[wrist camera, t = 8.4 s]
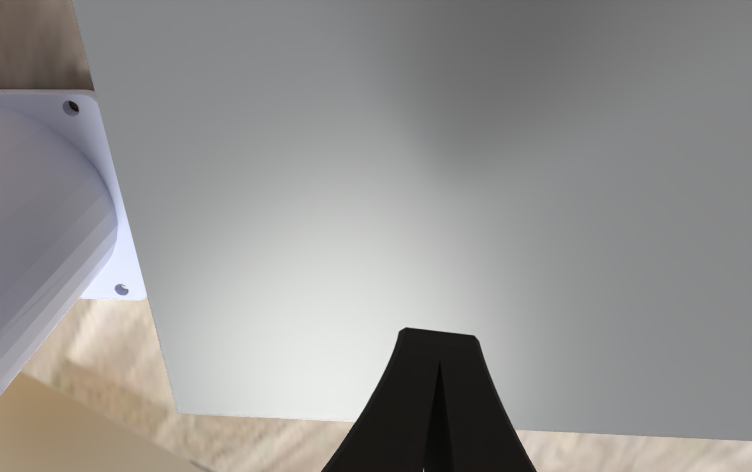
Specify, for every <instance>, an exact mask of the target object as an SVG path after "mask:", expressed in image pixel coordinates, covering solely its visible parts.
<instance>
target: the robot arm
mask: <svg viewBox="0 0 752 472" xmlns="http://www.w3.org/2000/svg"><path fill="white" fill-rule="evenodd" d="M69 101H73V102H74V103H76V104H77V106H78V108H79V112H76V111H74V110H73V109H71V107H70V105H69ZM120 284H123V285H125V286H126V287H127V288H128V289H124V288H123V287H121V286H120ZM146 297H147V293H146V289H145V285H144V281H143V277H142V273H141V270H140V266H139V262H138V258H137V254H136V250H135V246H134V242H133V238H132V235H131V231H130V227H129V223H128V219H127V215H126V211H125V207H124V203H123V200H122V196H121V192H120V188H119V184H118V180H117V176H116V172H115V168H114V164H113V161H112V157H111V153H110V149H109V145H108V141H107V137H106V133H105V129H104V126H103V122H102V118H101V114H100V110H99V106H98V102H97V98H96V94H95V91H92V90H52V89H0V395H1V394H2V393H3V392H4V390H5V389H6V388H7V387H8V386H9V384H10V383H11V382H12V380H13V379H14V378H15V377H16V376H17V374H18V373H19V372H20V371H21V369H22V368H23V367H24V366H25V365H26V363H27V362H28V361H29V360H30V358H31V357H32V356H33V355H34V353H35V352H36V351H37V350H38V348H39V347H40V346H41V345H42V344H43V342H44V341H45V340H46V339H47V337H48V336H49V335H50V334H51V332H52V331H53V330H54V329H55V327H56V326H57V325H58V324H59V323H60V321H61V320H62V319H63V318H64V316H65V315H66V314H67V313H68V311H69V310H70V309H71V308H72V306H73V305H74V304H75V303H76V302H77V300H78V299H79V298H83V299H114V300H143V299H145V298H146ZM423 469H424V472H537V471H536V469H535V468H534V466H533V464H532V462H531V460H530V459H529V457H528V455H527V453H526V451H525V449H524V447H523V446H522V444H521V442H520V440H519V438H518V436H517V434H516V432H515V430H514V428H513V425H512V423H511V421H510V419H509V417H508V415H507V413H506V411H505V409H504V407H503V404H502V402H501V400H500V397H499V395H498V393H497V390H496V388H495V385H494V383H493V381H492V378H491V375H490V373H489V370H488V367H487V365H486V362H485V359H484V356H483V352H482V349H481V345H480V341H479V340H478V339H477V338H476V337H475V335H468V334H459V333H451V332H442V331H434V330H426V329H417V328H409V327H405V328H404V329H402V330H400V331H399V333H398V337H397V341H396V344H395V347H394V350H393V353H392V355H391V358H390V360H389V362H388V364H387V366H386V369H385V371H384V373H383V375H382V377H381V379H380V381H379V383H378V384H377V386H376V388H375V390H374V392H373V393H372V395H371V397H370V399H369V401H368V402H367V404H366V406H365V408H364V409H363V411H362V413H361V414H360V416H359V417H358V419H357V421H356V422H355V424H354V425H353V427H352V428H351V430H350V431H349V433H348V434H347V436H346V437H345V439H344V440H343V442H342V443H341V445H340V446H339V448H338V449H337V451H336V452H335V453H334V455H333V456H332V458H331V459H330V460H329V462H328V463H327V464H326V466H325V467H324V468H323V470H322V471H321V472H423Z"/></svg>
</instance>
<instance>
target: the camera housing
mask: <svg viewBox="0 0 752 472" xmlns="http://www.w3.org/2000/svg"><path fill="white" fill-rule="evenodd" d="M71 1H72V5H73V9H74V13H75V17H76V20H77V24H78V28H79V32H80V36H81V40H82V44H83V48H84V52H85V55H86V59H87V63H88V67H89V71H90V75H91V79H92V83H93V87H94V90H95V94H96V98H97V102H98V106H99V110H100V114H101V118H102V122H103V126H104V129H105V133H106V137H107V141H108V145H109V149H110V153H111V157H112V161H113V164H114V168H115V172H116V176H117V180H118V184H119V188H120V192H121V196H122V200H123V203H124V207H125V211H126V215H127V219H128V223H129V227H130V231H131V235H132V238H133V242H134V246H135V250H136V254H137V258H138V262H139V266H140V270H141V273H142V277H143V281H144V285H145V289H146V293H147V297H148V301H149V305H150V309H151V312H152V316H153V320H154V324H155V328H156V332H157V336H158V340H159V344H160V347H161V351H162V355H163V359H164V363H165V367H166V371H167V375H168V379H169V382H170V386H171V390H172V394H173V398H174V402H175V406H176V410H177V413H181V414H201V415H222V416H243V417H263V418H284V419H305V420H326V421H346V422H356V421H357V419H358V417H359V416H360V414H361V413H362V411H363V409H364V408H365V406H366V404H367V402H368V401H369V399H370V397H371V395H372V393H373V392H374V390H375V388H376V386H377V384H378V383H379V381H380V379H381V377H382V375H383V373H384V371H385V369H386V366H387V364H388V362H389V360H390V358H391V355H392V353H393V350H394V347H395V344H396V341H397V337H398V333H399V331H400V330H402V329H404V328H405V327H409V328H417V329H426V330H434V331H442V332H451V333H459V334H468V335H475V337H476V338H477V339H478V340H479V341H480V345H481V349H482V352H483V356H484V359H485V362H486V365H487V367H488V370H489V373H490V375H491V378H492V381H493V383H494V385H495V388H496V390H497V393H498V395H499V397H500V400H501V402H502V404H503V407H504V409H505V411H506V413H507V415H508V417H509V419H510V421H511V423H512V425H513V428H514V430H533V431H553V432H574V433H595V434H616V435H636V436H657V437H678V438H698V439H719V440H740V441H752V0H71Z"/></svg>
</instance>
